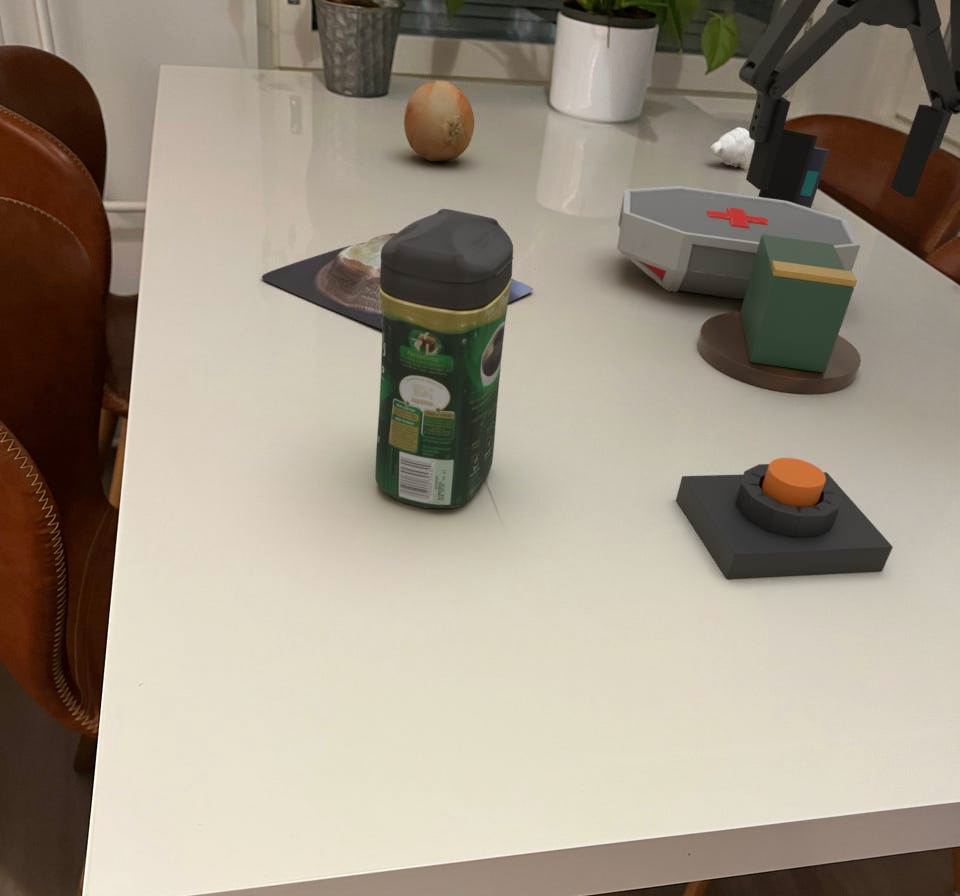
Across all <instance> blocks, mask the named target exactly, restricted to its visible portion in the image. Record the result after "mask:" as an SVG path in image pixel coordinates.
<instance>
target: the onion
mask: <svg viewBox="0 0 960 896" xmlns="http://www.w3.org/2000/svg"><path fill="white" fill-rule="evenodd" d="M404 111H405V112H404V119H403V128H404V133H405V136H406V141H407V142H408V144H409V147H410V148H411V149H412V150H413V151H414V153H416V155H418V156H419V157H421V158H423V159H424V160H427V161H430V162H440V161H441V162H442V161H450V160H454V159H456V158H459V157H461V155H462V154H463V153H464V152H465V151H466V150H467V149H468V147H469V145H470V143H471V142H472V138H473V135H474V131H475V116H474V115H475V114H474V112H473V107H472V105H471V101H470V100H469V98H468V97H467V95H466V94H465V92H464V91H463V90H462V88H460V87H458V86H457V85H455V84H454V83H452V82H449V81H447V80H431V81H427V82H426V83H424V84H422V85H420V86H419V87H418V88H417V89H416V90H415V91H414V92H413V94H412V95H411V97H410V98H409V100H408V101H407V103H406V106H405V110H404Z"/></svg>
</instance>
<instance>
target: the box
mask: <svg viewBox="0 0 960 896" xmlns="http://www.w3.org/2000/svg"><path fill="white" fill-rule="evenodd" d="M857 283H858V280H857V277H856V276H855V273H854V271H853V270H852V271H845V268H844V266H843V264H842V262H841V260H840V258H839V256H838V254H837V251H836V249H835V247H834V245H833V244H828V243H820V242H813V241H806V240H798V239H791V238H784V237H777V236H769V235H761V239H760V242H759V246H758V250H757V253H756V257H755V261H754V265H753V268H752V272H751V276H750V279H749V283H748V287H747V290H746V294H745V298H744V300H743V301H742V305H741V309H740V311H739V312H740V315H741V320H742V325H743V330H744V334H745V339H746V344H747V348H748V353H749V358H750V362H751V363H758V364H765V365H772V366H779V367H787V368H794V369H801V370H808V371H815V372H822V373H825V372H826V369H827V366H828V363H829V360H830V357H831V354H832V351H833V348H834V345H835V342H836V339H837V337H838V335H839V334H840V331H841V327H842V324H843V322H844V319H845V317H846V316H845V315H846V313H847V310H848V307H849V305H850V301H851V299H852V295H853V293H854V290H855V288H856V285H857Z"/></svg>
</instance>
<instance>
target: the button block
mask: <svg viewBox="0 0 960 896" xmlns="http://www.w3.org/2000/svg"><path fill="white" fill-rule="evenodd" d="M769 464H770V463H759V464H757V465H755V466H752V467H751V468H748V469H747V470H744V472H743V474H712V475H682V476H681V479H680V483H679V487H678V491H677V494H676V498H675V502H676V503H677V505H678V507H679V509H680V510H681V511H682V513H683V514H684V516H685V518H686V519H687V521H688V522H689V523H690V525H691V526H692V528H693V530H694V532H695V533H696V535H697V536H698V538H699V539H700V541H701V543H702V544H703V545H704V547H705V548H706V550H707V552H708V553H709V555H710V556H711V558H712V560H713V561H714V562H715V564H716V566H717V568H718V569H719V570H720V572H721V573H722V575H723V577H724V578H725V580H726V581H727V580H748V579H767V578H786V577H805V576H826V575H844V574H860V573H861V574H866V573H881V572H883V571H884V568H885V566H886V563H887V561H888V559H889V557H890V554H891V552H892V550H893V549H894V548H893V546H892V544H891V542H890V541H888V540H887V539H886V537H885V536H884V535H883V534H882V533H881V532H880V530H879V529H878V528H877V527H876V526H875V525H874V524H873V522H872V521H871V520H869V518H868V516H866V514H864V513H863V511H862V510H861V509H860V508H859V507H858V505H857V504H855V502H854V501H853V500H852V499H851V498H850V496H848V494H847V493H846V492H845V491H844V490H843V489H842V488H841V487H840V485H839V484H838V483H837V482H836V481H835V480H834V478H833V477H832V476H830V474H829V473H828V472H827V471H826V472H824V471H823V473H824V474H825V477H826V481H825V484H824V487H823V489H822V492H821V495H820V497H819V500H818V502H817V503H816V504H815V505H814V506H806V507H796V506H792V505H788V504H784V503H781V502H779V501H777V500H775V499H773V498H771V497H770V496H768V495H766V494H765V493H764V492H763V490H762V484H763V481H764V478H765V475H766V472H767V469H768V466H769Z"/></svg>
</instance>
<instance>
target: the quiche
mask: <svg viewBox="0 0 960 896" xmlns="http://www.w3.org/2000/svg"><path fill="white" fill-rule="evenodd" d="M397 233H398V232H393V233H392V232H391V233H386V234H383V235H379V236H375V237H373V238H371V239H370V240H368V241H366V242H361V243H357V244H352V245H348V246H344V247H341V248H337V249H334V250H333V249H332V250H331V251H328V252H324V253H321V254H318V255H315V256H311V257H308V258H305V259H302V260H299V261H296V262H293V263H291V264H287V265H284V266H282V267H279V268H276V269H273V270H270V271H267V272H266V273H263V274H262V276H261V279H262V280H264V281H265V282H267V283H269V284H272V285H274V286H276V287H278V288H280V289H282V290H284V291H287V292H289V293H292V294H294V295H296V296H299V297H301V298H302V299H305V300H308V301H310V302H312V303H314V304H318V305H320V306H322V307H324V308H327V309H329V310H332V311H334V312H337V313H339V314H342V315H344V316H346V317H349V318H351V319H354V320H357V321H359V322H361V323H365V324H367V325H369V326H372V327H375V328H377V329H380V330H382V311H381V302H380V294H379V285H380V269H381V250H382V247H383V246H384V244H385V243H386V242H388V241H389V240H390V239H391V238H392V237H393V236H394V235H396V234H397ZM533 291H534V288H533V287H532V286H530V285H528V284H526V283H523V282H521V281H518V280H516V279H514V278H511V285H510V292H509V299H508V304H509V303H511V302H513V301H516V300H518V299H520V298H521V297H523V296H526V295H528V294H530V293H531V292H533Z"/></svg>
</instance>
